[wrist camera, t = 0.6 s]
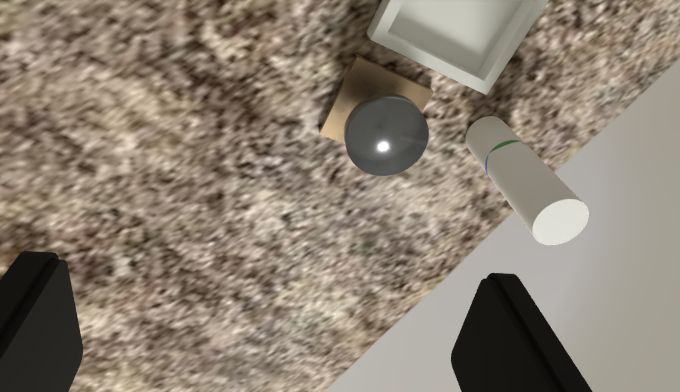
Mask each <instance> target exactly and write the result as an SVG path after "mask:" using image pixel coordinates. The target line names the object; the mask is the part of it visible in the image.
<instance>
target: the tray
mask: <svg viewBox="0 0 680 392" xmlns="http://www.w3.org/2000/svg"><path fill="white" fill-rule="evenodd" d="M548 1H549V0H382V1H381V3H380V5H379V7H378V9H377V11H376V13H375V15H374V17H373V19H372V21H371V23H370V25H369V27H368V29H367V31H366V33H367V35H368V36H369V38H370V39H371V40H372V41H374V42H376V43H378V44H380V45H383V46H385V47H387V48H389V49H391V50H393V51H395V52H397V53H399V54H401V55H404V56H406V57H408V58H410V59H412V60H414V61H416V62H418V63H420V64H422V65H424V66H427V67H429V68H431V69H433V70H435V71H437V72H439V73H441V74H443V75H445V76H447V77H450V78H452V79H454V80H456V81H458V82H460V83H462V84H464V85H466V86H468V87H471V88H473V89H475V90H477V91H479V92H481V93H483V94H485V95H487V94H488V92H489V91H490V89H491V88H492V86H493V85H494V83H495V81H496V80H497V78H498V77H499V75H500V74H501V72H502V71H503V69H504V68H505V66H506V65H507V63H508V62H509V60H510V59H511V57H512V56H513V54H514V52H515V51H516V49H517V48H518V46H519V45H520V43H521V42H522V40H523V39H524V37H525V36H526V34H527V33H528V31H529V30H530V28H531V26H532V25H533V23H534V22H535V20H536V19H537V17H538V16H539V14H540V13H541V11H542V10H543V8H544V7H545V5H546V4H547V2H548Z"/></svg>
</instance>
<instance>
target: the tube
mask: <svg viewBox="0 0 680 392" xmlns="http://www.w3.org/2000/svg"><path fill="white" fill-rule="evenodd" d="M465 141H466V145H467V147H468V149H469V150H470V151H471V153H472V154H473V155H474V157H475V158H476V159H477V161H478V162H479V164H480V165H481V166H482V168H483V169H484V170H485V172H486V173H487V174H488V176H489V177H490V178H491V180H492V181H493V182H494V184H495V185H496V186H497V188H498V189H499V190H500V192H501V193H502V194H503V196H504V197H505V199H506V200H507V201H508V203H509V204H510V205H511V207H512V208H513V209H514V211H515V212H516V213H517V215H518V216H519V217H520V219H521V220H522V221H523V223H524V224H525V225H526V227H527V228H528V229H529V231H530V232H531V233H532V235H533V236H534V238H535V239H536V240H537V241H538V242H540V243H542V244H545V245H557V244H561V243H564V242H567V241H569V240H571V239H572V238H574V237H575V236H576V235H578V234H579V233H580V232H581V231H582V229H583V228H584V227H585V225H586V223H587V220H588V217H589V212H588V208H587V207H586V205H585V204H584V203H583V202H582V201H581V200H580V199H579V198H578V197H577V196H576V195H575V194H574V193H573V192H572V191H571V190H570V189H569V188H568V187H567V186H566V185H565V184H564V183H563V182H562V181H561V180H560V178H559V177H557V175H556V174H555V173H554V172H553V171H552V170H551V169H550V168H549V167H548V166H547V165H546V164H545V163H544V162H543V161H542V160H541V159H540V158H539V157H538V156H537V155H536V154H535V153H534V152H533V151H532V150H531V149H530V148H529V147H528V146H527V145H526V144H525V143H524V142H523V141H522V140H521V139H520V138H519V137H518V136H517V135H516V134H515V133H514V132H513V131H512V130H511V129H510V128H509V127H508V126H507V125H506V124H505V123H504V122H503V121H502V120H501V119H500V118H498V117H495V116H486V117H483V118H480V119H478V120H477V121H475V122H474V123H473V124H472V125H471V126H470V128H469V129H468V131H467V133H466V138H465Z"/></svg>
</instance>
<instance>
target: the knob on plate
mask: <svg viewBox="0 0 680 392" xmlns="http://www.w3.org/2000/svg"><path fill="white" fill-rule="evenodd" d="M432 94H433V90H432V89H431V88H429V87H427V86H425V85H423V84H421V83H419V82H416V81H414V80H412V79H410V78H408V77H406V76H403V75H401V74H399V73H397V72H395V71H393V70H390V69H388V68H386V67H384V66H382V65H380V64H377V63H375V62H373V61H371V60H369V59H367V58H364V57H362V56H360V55H358V54H355V56H354V58H353V60H352V62H351V64H350V66H349V68H348V71H347V73H346V75H345V77H344V79H343V81H342V83H341V85H340V87H339V89H338V91H337V93H336V95H335V97H334V99H333V101H332V103H331V106H330V108H329V110H328V112H327V114H326V116H325V118H324V120H323V122H322V124H321V126H320V128H319V134H321V135H323V136H326V137H328V138H331V139H333V140H336V141H339V142H341V143H344V144H346V148H347V152H348V155H349V157H350V159H351V160H352V162H353V163H354V164H355V165H356V166H357V167H358V168H359V169H361V170H363V171H364V172H367V173H369V174H372V175H378V176H388V175H394V174H397V173H400V172H402V171H404V170H406V169H408V168H409V167H411V166H412V165H413V164H414V163H416V162H417V160H418V159H419V158H420V157H421V156H422V154H423V152H424V150H425V148H426V146H427V142H428V136H429V131H428V125H427V122H426V120H425V118H424V116H423V114H422V111H423V109H424V107H425V106H426V104H427V102H428V101H429V99H430V97H431V96H432Z"/></svg>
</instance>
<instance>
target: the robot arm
mask: <svg viewBox="0 0 680 392" xmlns="http://www.w3.org/2000/svg"><path fill="white" fill-rule="evenodd" d="M82 355H83V344H82V339H81V334H80V328H79V323H78V318H77V312H76V307H75V302H74V297H73V291H72V286H71V281H70V275H69V270H68V265H67V262H66V261H65V260H59V258H58V256H57V254H56V253H52V252H31V251H24V252H22V253H21V254H20V255H19V256H18V257H17V258H16V259H15V261H14V262H13V264H12V265H11V266H10V268H9V269H8V270H7V272H6V273H5V274H4V276H3V277H2V278H1V280H0V392H68V391H69V389H70V387H71V384H72V382H73V380H74V378H75V375H76V373H77V371H78V368H79V366H80V363H81V360H82ZM451 363H452V367H453V370H454V373H455V375H456V378H457V381H458V383H459V386H460V389H461V391H462V392H592V390H591V389H590V387H589V386H588V384H587V383H586V381H585V379H584V378H583V377H582V375H581V373H580V372H579V370H578V369H577V367H576V366H575V364H574V363H573V361H572V359H571V358H570V356H569V355H568V353H567V352H566V350H565V349H564V347H563V345H562V344H561V342H560V341H559V339H558V338H557V336H556V335H555V333H554V332H553V330H552V329H551V327H550V325H549V324H548V322H547V321H546V319H545V318H544V316H543V315H542V313H541V312H540V310H539V308H538V307H537V305H536V304H535V302H534V301H533V299H532V298H531V296H530V295H529V293H528V291H527V290H526V288H525V287H524V285H523V284H522V282H521V281H520V279H519V278H518V277H517V276H516V275H514V274H503V273H491V274H489V275H488V277H487V279H483V280H481V282H480V285H479V287H478V289H477V292H476V294H475V297H474V299H473V301H472V304H471V307H470V309H469V311H468V314H467V316H466V319H465V321H464V323H463V326H462V328H461V331H460V333H459V336H458V338H457V340H456V343H455V346H454V348H453V350H452V354H451Z"/></svg>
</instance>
